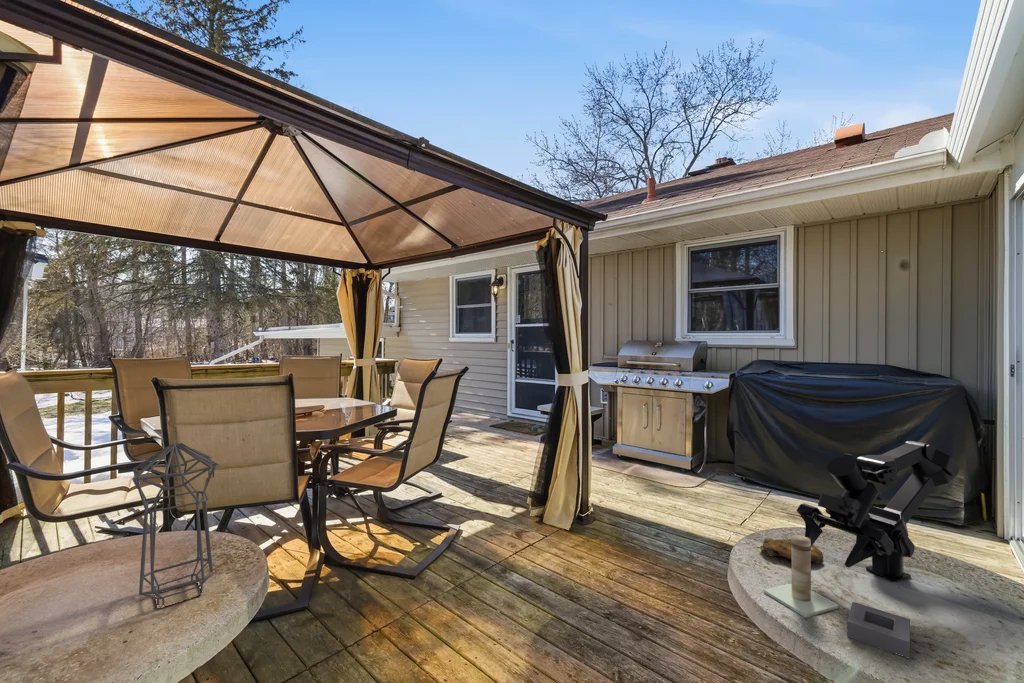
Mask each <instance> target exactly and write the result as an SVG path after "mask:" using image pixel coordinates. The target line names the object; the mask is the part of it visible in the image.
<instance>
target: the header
mask: <svg viewBox="0 0 1024 683" xmlns="http://www.w3.org/2000/svg"><path fill="white" fill-rule="evenodd" d="M846 622H847V623H846V624H847V626H846V632H847V634H846V635H847V636H846V637H848V638H850V639H852V640H856V641H858V642H861V643H864V642H865V643H864V644H867V645H869V644H870V646H872V647H874V648H878V649H881V650H884V651H886V652H890V653H892V652H893V654H895V653H897V654H900V655H903V656H905V657H904V658H906V657H909V658H910V656H909V654H910V652H911V619H910V618H908V617H904V616H900V615H898V614H894V613H891V612H888V611H884V610H882V609H878V608H874V607H871V606H869V605H866V604H862V603H860V602H856V601H852V603H851V606H850V609H849V613H848V617H847V621H846ZM897 654H896V655H897ZM900 655H899V656H900ZM903 656H902V657H903Z"/></svg>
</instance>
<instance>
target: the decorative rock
mask: <svg viewBox="0 0 1024 683" xmlns="http://www.w3.org/2000/svg"><path fill="white" fill-rule="evenodd" d="M758 548H759V549H760V551H761V552H762V553H764V554H765V553H766V554H765V555H767V556H769V557H774V556H777V557H783V558H785V559H787V560H792V550H791V538H789V539H788V538H787V539H779V538H778V539H774V538H770V537H768V538H764V541H763V543H762V545H761V546H759V547H758ZM823 560H824V555H823V551H821V550H820V549H819V548H818V547H817V546H816V545H814V544H813V545H812V546H811V562H813V561H814V562H813V563H815V562H817V563H820V564H821V563H822V561H823ZM817 563H816V564H817Z"/></svg>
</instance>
